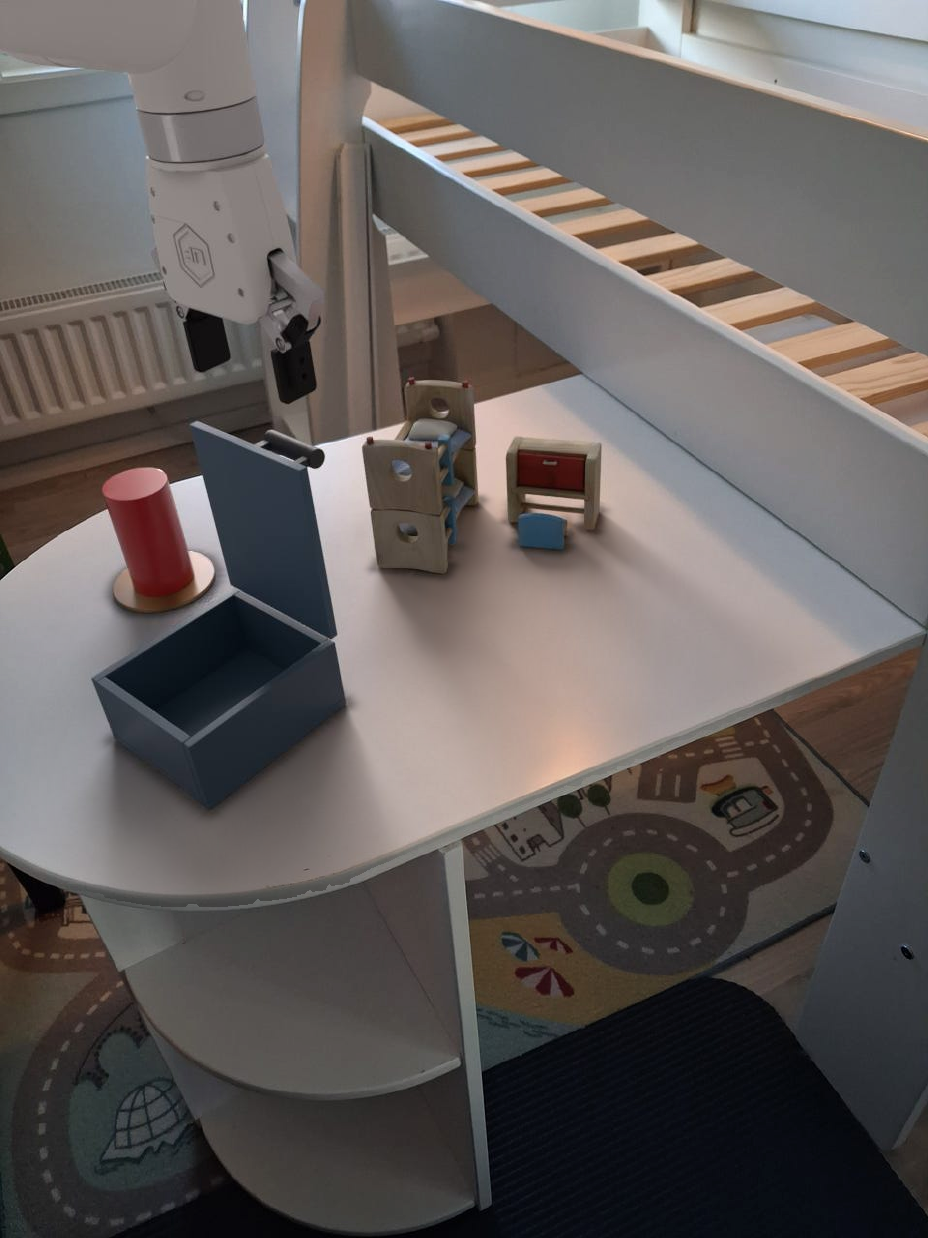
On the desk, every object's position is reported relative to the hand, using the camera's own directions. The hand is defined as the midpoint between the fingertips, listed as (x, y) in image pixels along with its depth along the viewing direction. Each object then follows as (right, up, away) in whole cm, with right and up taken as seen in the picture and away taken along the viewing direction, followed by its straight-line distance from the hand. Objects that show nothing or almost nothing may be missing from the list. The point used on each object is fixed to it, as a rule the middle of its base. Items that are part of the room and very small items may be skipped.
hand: (254, 380), depth 74 cm
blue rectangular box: (-4, -26, +9) cm, 28 cm away
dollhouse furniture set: (+19, -10, +28) cm, 35 cm away
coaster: (-14, -14, +25) cm, 32 cm away
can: (-14, -14, +25) cm, 32 cm away
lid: (0, -11, +3) cm, 12 cm away
